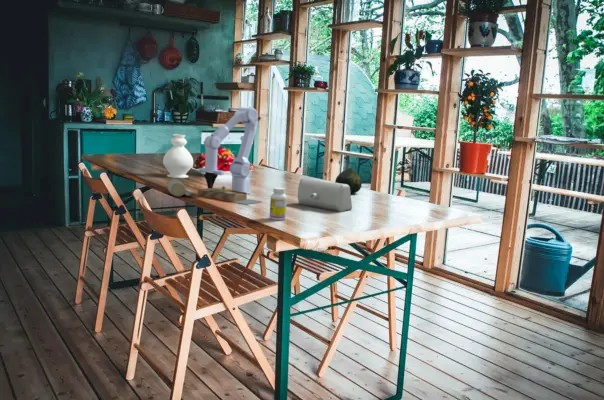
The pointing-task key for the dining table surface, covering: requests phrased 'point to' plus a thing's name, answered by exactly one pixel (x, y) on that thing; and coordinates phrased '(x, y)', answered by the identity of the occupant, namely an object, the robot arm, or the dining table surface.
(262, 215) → the dining table surface
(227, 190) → the lever cap
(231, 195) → the body
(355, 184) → the squash
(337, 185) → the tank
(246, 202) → the mat
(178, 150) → the decorative vase
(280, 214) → the supplement bottle
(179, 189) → the ceramic mug
